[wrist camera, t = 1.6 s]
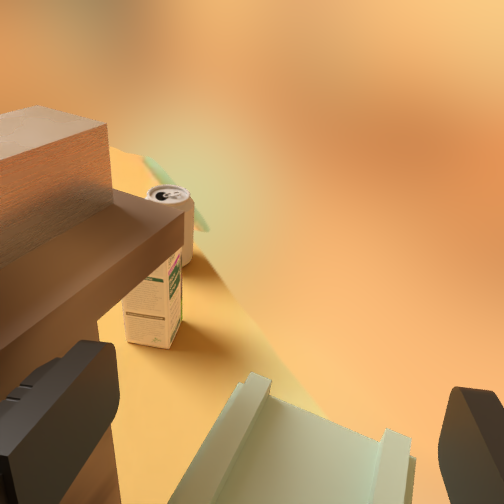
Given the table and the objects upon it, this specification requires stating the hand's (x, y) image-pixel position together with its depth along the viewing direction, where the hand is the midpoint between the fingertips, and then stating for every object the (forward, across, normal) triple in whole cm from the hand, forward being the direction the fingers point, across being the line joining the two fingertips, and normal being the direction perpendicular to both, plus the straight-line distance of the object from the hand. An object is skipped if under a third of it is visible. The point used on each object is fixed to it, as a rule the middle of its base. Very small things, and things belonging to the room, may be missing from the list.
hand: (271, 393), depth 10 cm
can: (+52, +22, +19) cm, 60 cm away
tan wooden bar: (-5, +11, -1) cm, 12 cm away
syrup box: (+37, +18, +23) cm, 47 cm away
